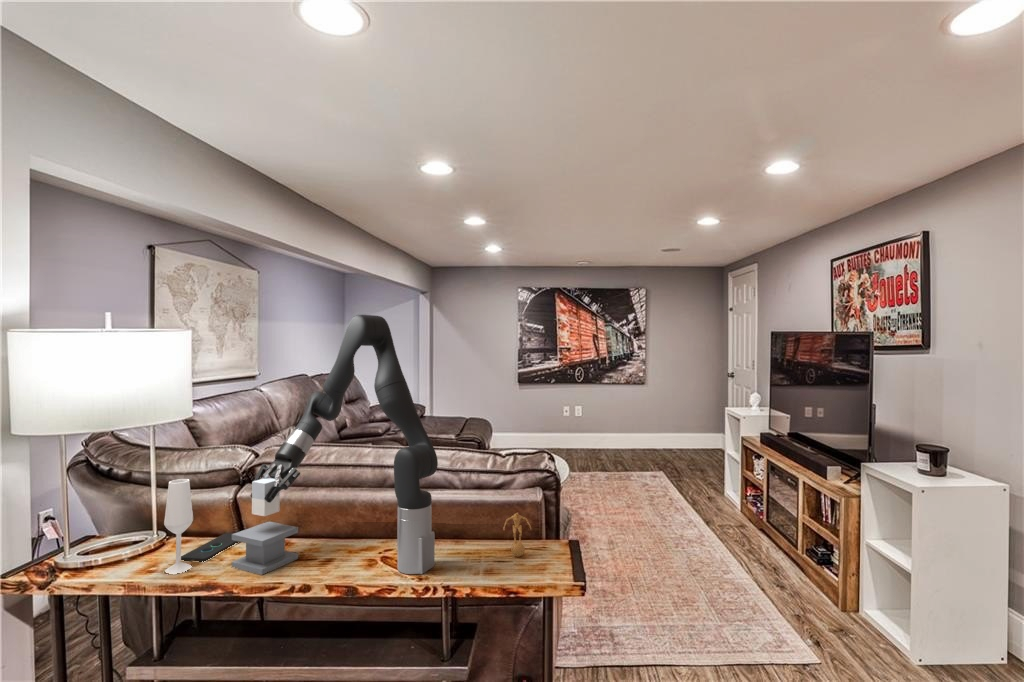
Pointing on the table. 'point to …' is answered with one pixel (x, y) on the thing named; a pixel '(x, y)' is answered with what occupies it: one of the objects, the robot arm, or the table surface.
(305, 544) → the table surface
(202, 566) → the table surface
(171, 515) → the champagne flute
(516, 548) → the figurine
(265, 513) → the block
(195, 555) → the smart home device
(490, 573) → the table surface
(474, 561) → the table surface
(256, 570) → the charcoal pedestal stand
